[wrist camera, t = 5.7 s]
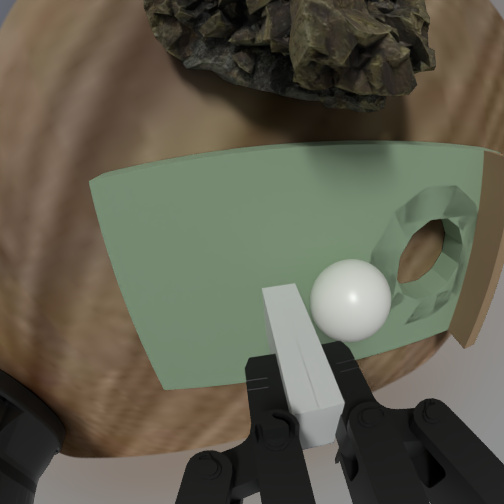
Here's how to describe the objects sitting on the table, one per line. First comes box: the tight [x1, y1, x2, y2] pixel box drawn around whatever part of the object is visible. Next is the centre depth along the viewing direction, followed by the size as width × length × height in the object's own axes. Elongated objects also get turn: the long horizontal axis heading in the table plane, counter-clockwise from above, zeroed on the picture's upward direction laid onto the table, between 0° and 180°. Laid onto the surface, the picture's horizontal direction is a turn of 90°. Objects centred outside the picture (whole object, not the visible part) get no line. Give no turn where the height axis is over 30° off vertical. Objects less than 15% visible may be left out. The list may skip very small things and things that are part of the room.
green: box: [89, 140, 504, 390], centre depth 15 cm, size 24×14×4 cm, turn 96°
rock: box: [144, 0, 436, 112], centre depth 9 cm, size 13×10×10 cm
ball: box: [310, 259, 391, 342], centre depth 13 cm, size 4×4×4 cm
